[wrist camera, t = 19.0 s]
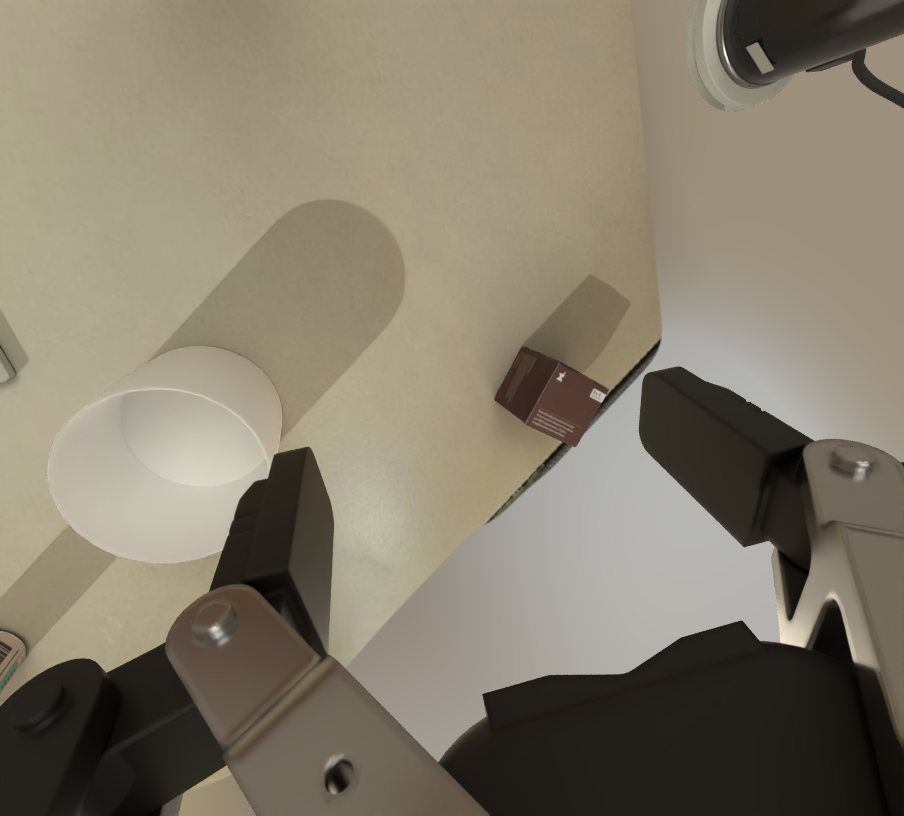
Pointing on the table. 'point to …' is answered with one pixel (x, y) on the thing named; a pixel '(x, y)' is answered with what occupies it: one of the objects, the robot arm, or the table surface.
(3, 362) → the smartphone
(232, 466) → the cup
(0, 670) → the beer can
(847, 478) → the robot arm
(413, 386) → the table surface
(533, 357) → the box
